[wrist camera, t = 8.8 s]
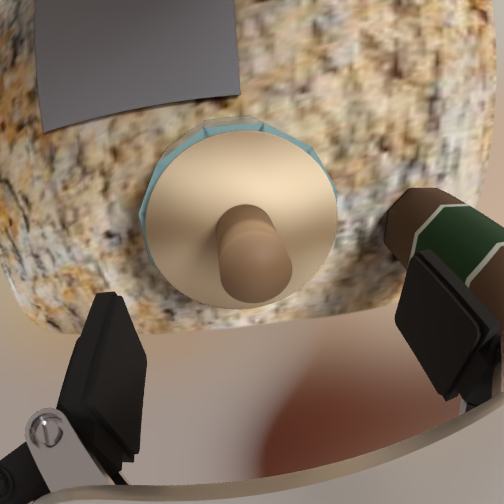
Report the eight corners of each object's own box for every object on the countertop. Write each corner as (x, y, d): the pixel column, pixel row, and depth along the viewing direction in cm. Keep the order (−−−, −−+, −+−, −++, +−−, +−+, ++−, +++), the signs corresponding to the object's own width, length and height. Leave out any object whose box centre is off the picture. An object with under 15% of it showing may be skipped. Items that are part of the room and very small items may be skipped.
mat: (40, -31, 11) (38, -33, 10) (227, -75, 12) (227, -77, 12) (46, 131, 17) (43, 132, 17) (240, 94, 19) (240, 94, 18)
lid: (131, 146, 14) (100, 169, 10) (332, 124, 15) (380, 139, 11) (169, 311, 19) (164, 370, 15) (328, 287, 20) (358, 339, 16)
